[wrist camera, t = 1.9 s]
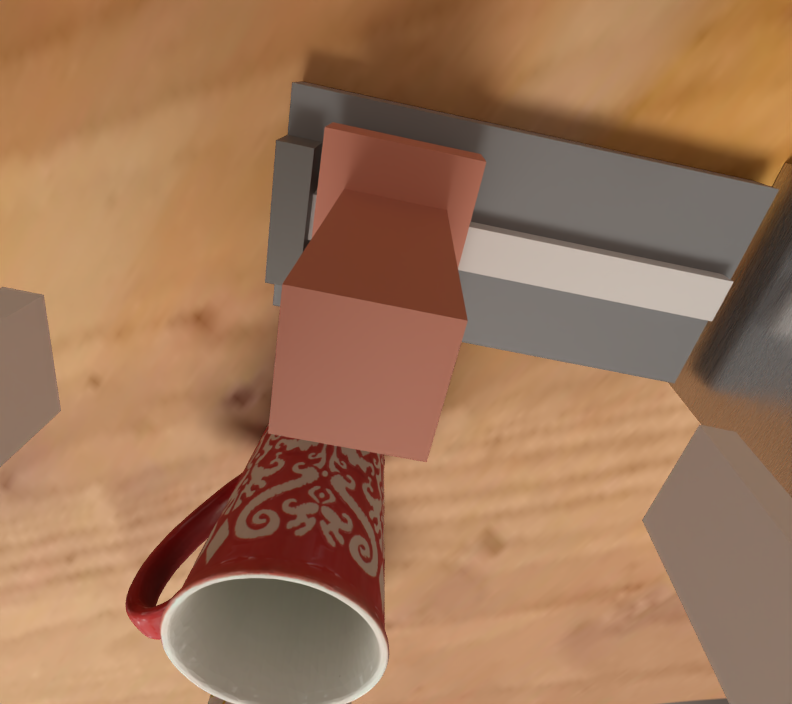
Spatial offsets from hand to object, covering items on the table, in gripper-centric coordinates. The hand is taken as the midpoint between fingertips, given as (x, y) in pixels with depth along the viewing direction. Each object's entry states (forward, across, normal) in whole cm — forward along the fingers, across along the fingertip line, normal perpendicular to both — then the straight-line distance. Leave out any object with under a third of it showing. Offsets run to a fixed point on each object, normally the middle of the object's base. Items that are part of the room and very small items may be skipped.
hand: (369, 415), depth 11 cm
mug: (+17, -4, -15) cm, 23 cm away
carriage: (+13, 0, 0) cm, 13 cm away
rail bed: (+17, +5, 0) cm, 18 cm away
